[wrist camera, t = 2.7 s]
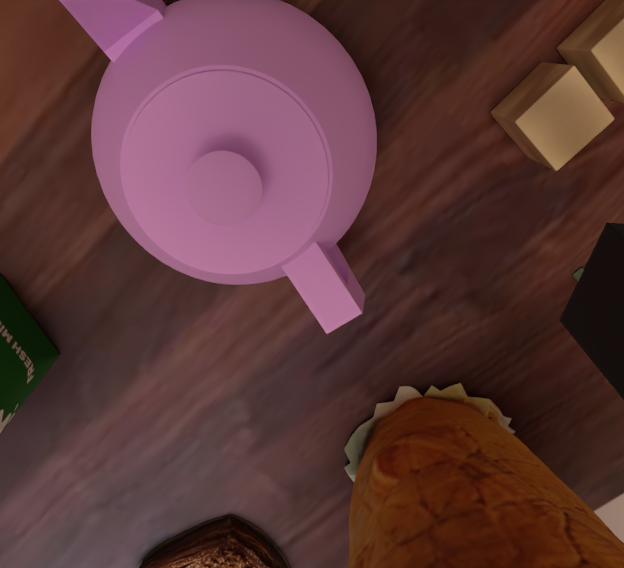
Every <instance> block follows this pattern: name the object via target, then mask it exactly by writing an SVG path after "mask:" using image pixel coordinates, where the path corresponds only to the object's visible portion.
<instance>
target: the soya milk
mask: <svg viewBox="0 0 624 568" xmlns="http://www.w3.org/2000/svg"><path fill="white" fill-rule="evenodd" d="M59 355H60V354H59V353H58V351H57V350H56V348H55V347H54V346H53V344H52V343H51V342H50V340H49V339H48V338H47V336H46V335H45V334H44V332H43V331H42V330H41V328H40V327H39V326H38V324H37V323H36V322H35V320H34V319H33V317H32V316H31V315H30V313H29V312H28V311H27V309H26V308H25V307H24V305H23V304H22V303H21V301H20V300H19V299H18V297H17V296H16V295H15V293H14V292H13V291H12V289H11V288H10V287H9V285H8V284H7V282H6V281H5V280H4V278H3V277H2V276H1V274H0V435H1V433H2V432H3V430H4V429H5V427H6V426H7V424H8V423H9V422H10V420H11V419H12V417H13V416H14V414H15V413H16V412H17V410H18V409H19V408H20V406H21V405H22V404H23V402H24V401H25V400H26V399H27V397H28V396H29V395H30V393H31V392H32V391H33V389H34V388H35V387H36V385H37V384H38V383H39V381H40V380H41V379H42V377H43V376H44V375H45V373H46V372H47V371H48V369H49V368H50V367H51V366H52V364H53V363H54V362H55V360H56V359H57V358H58V356H59Z"/></svg>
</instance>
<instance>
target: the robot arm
mask: <svg viewBox="0 0 624 568" xmlns="http://www.w3.org/2000/svg"><path fill="white" fill-rule="evenodd" d="M560 321H561V323H562V324H563V325H564V326H565V328H566V329H567V330H568V331H569V333H570V334H571V335H572V336H573V338H574V339H575V340H576V341H577V342H578V344H579V345H580V346H581V347H582V349H583V350H584V351H585V352H586V354H587V355H588V356H589V357H590V359H591V360H592V361H593V362H594V364H595V365H596V366H597V367H598V368H599V370H600V371H601V372H602V373H603V375H604V376H605V377H606V378H607V380H608V381H609V382H610V383H611V385H612V386H613V387H614V388H615V389H616V391H617V392H618V393H619V394H620V396H621V397H622V398H623V399H624V224H617V223H606V225H605V227H604V229H603V231H602V233H601V236H600V238H599V240H598V242H597V244H596V246H595V248H594V250H593V252H592V254H591V256H590V258H589V260H588V263H587V265H586V267H585V269H584V271H583V273H582V275H581V277H580V279H579V281H578V283H577V285H576V287H575V289H574V292H573V294H572V296H571V298H570V300H569V302H568V304H567V306H566V308H565V310H564V312H563V314H562V316H561V319H560Z"/></svg>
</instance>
